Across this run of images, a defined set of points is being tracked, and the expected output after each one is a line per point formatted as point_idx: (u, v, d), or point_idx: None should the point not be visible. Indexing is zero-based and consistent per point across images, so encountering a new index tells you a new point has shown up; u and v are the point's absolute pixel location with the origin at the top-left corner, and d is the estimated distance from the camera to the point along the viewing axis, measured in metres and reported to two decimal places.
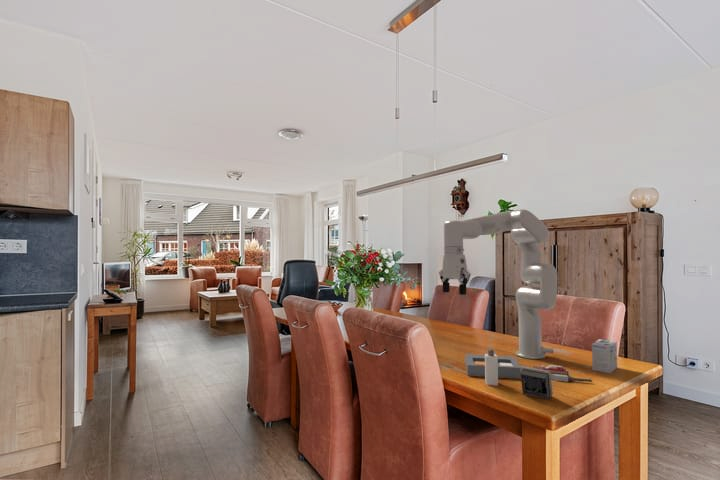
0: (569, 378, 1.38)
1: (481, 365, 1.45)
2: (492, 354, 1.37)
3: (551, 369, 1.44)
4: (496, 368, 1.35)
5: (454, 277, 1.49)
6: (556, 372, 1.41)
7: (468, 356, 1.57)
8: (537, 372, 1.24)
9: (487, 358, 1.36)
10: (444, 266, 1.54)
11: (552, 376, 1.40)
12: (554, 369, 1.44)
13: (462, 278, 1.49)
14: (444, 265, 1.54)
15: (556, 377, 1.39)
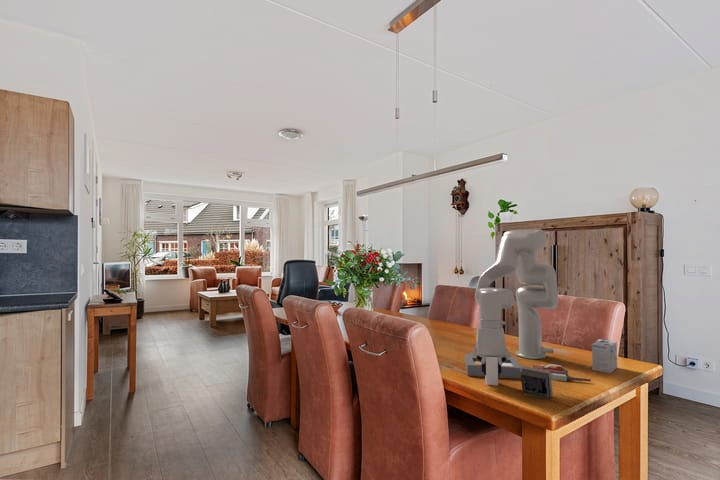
0: (568, 377, 1.38)
1: (481, 365, 1.45)
2: None
3: (550, 368, 1.44)
4: (496, 368, 1.35)
5: (498, 354, 1.35)
6: (555, 371, 1.42)
7: (468, 356, 1.57)
8: (537, 372, 1.24)
9: (487, 358, 1.36)
10: (482, 342, 1.36)
11: (551, 375, 1.41)
12: (553, 368, 1.45)
13: None
14: (482, 341, 1.36)
15: (554, 376, 1.40)
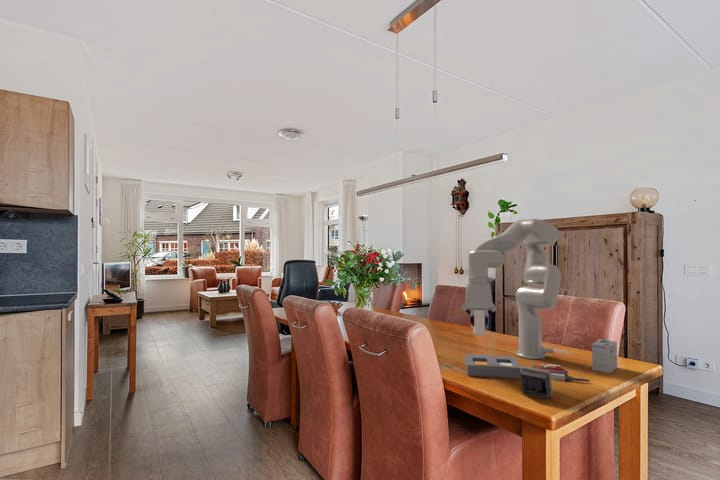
0: (566, 377, 1.39)
1: (481, 365, 1.45)
2: None
3: (550, 368, 1.45)
4: (483, 319, 1.51)
5: (485, 307, 1.51)
6: (554, 371, 1.42)
7: (468, 356, 1.57)
8: (537, 372, 1.24)
9: (475, 311, 1.51)
10: (471, 296, 1.52)
11: None
12: (552, 368, 1.45)
13: None
14: (471, 295, 1.52)
15: (553, 376, 1.40)
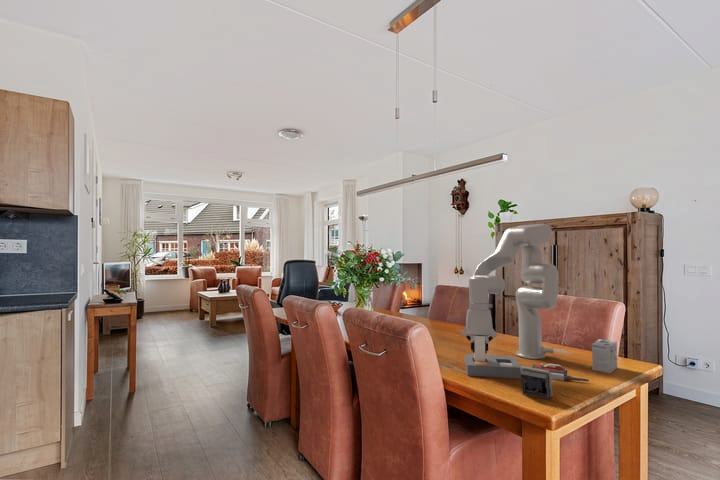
0: (565, 377, 1.39)
1: (481, 365, 1.45)
2: None
3: (549, 367, 1.45)
4: (483, 346, 1.50)
5: (486, 334, 1.50)
6: (553, 371, 1.43)
7: (468, 356, 1.57)
8: (537, 372, 1.24)
9: (475, 337, 1.51)
10: (471, 323, 1.51)
11: None
12: (552, 367, 1.45)
13: None
14: (471, 322, 1.51)
15: (552, 375, 1.41)
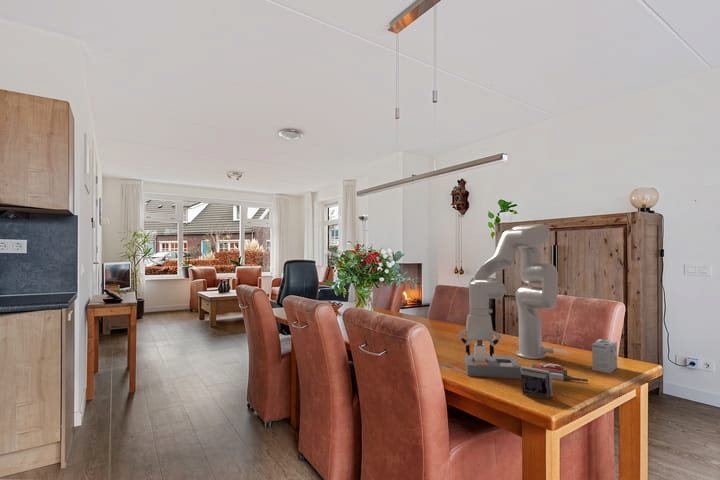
0: (564, 377, 1.39)
1: (481, 365, 1.45)
2: (481, 344, 1.52)
3: (549, 367, 1.46)
4: (484, 356, 1.50)
5: (486, 339, 1.50)
6: (552, 371, 1.43)
7: (468, 356, 1.57)
8: (537, 372, 1.24)
9: (476, 347, 1.51)
10: (471, 328, 1.51)
11: None
12: (552, 367, 1.46)
13: None
14: (471, 327, 1.51)
15: (551, 375, 1.41)
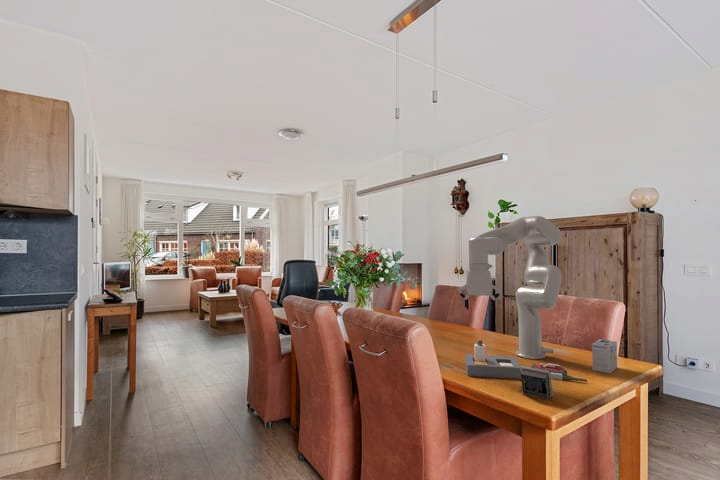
0: (564, 377, 1.40)
1: (481, 365, 1.45)
2: (481, 344, 1.52)
3: (549, 367, 1.46)
4: (484, 356, 1.50)
5: (486, 293, 1.51)
6: (552, 370, 1.43)
7: (468, 356, 1.57)
8: (537, 372, 1.24)
9: (476, 347, 1.51)
10: (471, 283, 1.53)
11: None
12: (551, 367, 1.46)
13: None
14: (471, 282, 1.53)
15: (551, 375, 1.41)
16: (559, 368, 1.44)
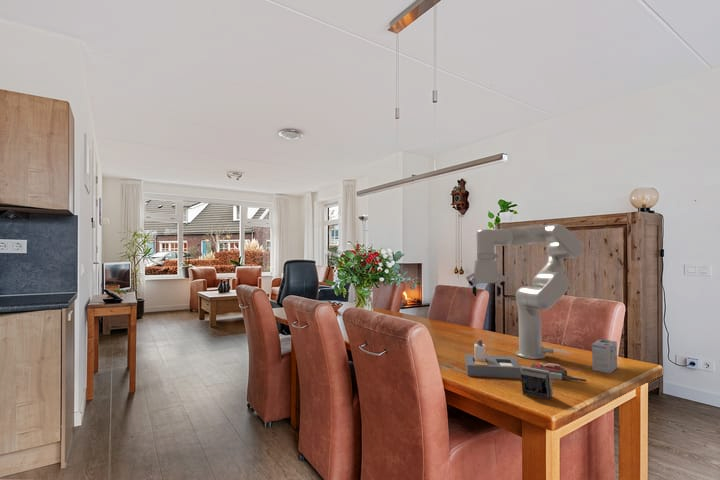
0: (563, 376, 1.40)
1: (481, 365, 1.45)
2: (481, 344, 1.52)
3: (548, 367, 1.46)
4: (484, 356, 1.50)
5: (492, 281, 1.64)
6: (551, 370, 1.44)
7: (468, 356, 1.57)
8: (537, 372, 1.24)
9: (476, 347, 1.51)
10: (479, 271, 1.65)
11: None
12: (551, 367, 1.46)
13: None
14: (479, 270, 1.65)
15: None
16: (559, 368, 1.44)
